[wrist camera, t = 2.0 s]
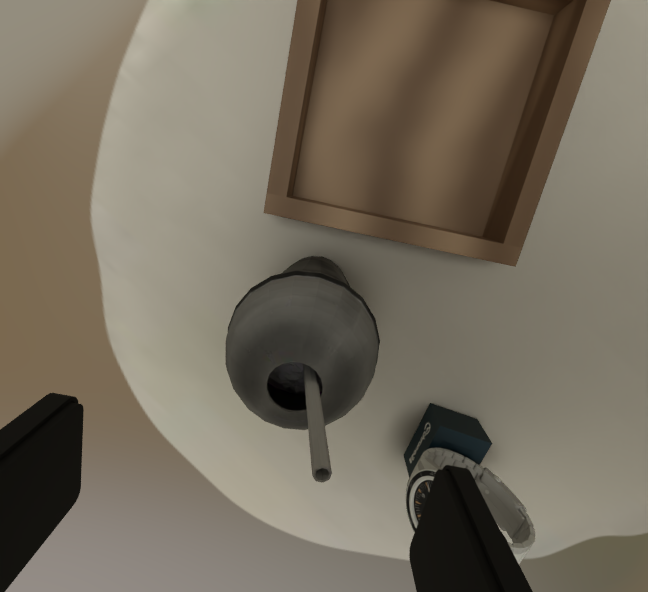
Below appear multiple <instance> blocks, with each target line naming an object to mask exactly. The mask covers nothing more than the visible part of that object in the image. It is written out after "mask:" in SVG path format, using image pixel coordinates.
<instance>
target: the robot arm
mask: <svg viewBox="0 0 648 592" xmlns="http://www.w3.org/2000/svg"><path fill="white" fill-rule="evenodd" d="M82 433H83V406H82V405H81V404H78V400H77V398H76V397H72V396H67V395H62V394H56V393H50V394H48V395H46V396H45V397H43V398H42V399H41V400H39V401H38V402H37V403H36V404H34V405H33V406H32V407H30V408H29V409H27V410H26V411H25V412H23V413H22V414H21V415H19V416H18V417H17V418H15V419H14V420H13V421H11V422H10V423H9V424H7V425H6V426H5V427H3V428H2V429H1V430H0V592H5V591H6V589H7V588H8V587H9V585H10V584H11V583H12V582H13V581H14V579H15V578H16V577H17V575H18V574H19V573H20V572H21V571H22V569H23V568H24V567H25V565H26V564H27V563H28V562H29V560H30V559H31V558H32V557H33V555H34V554H35V553H36V552H37V550H38V549H39V548H40V547H41V545H42V544H43V543H44V541H45V540H46V539H47V538H48V536H49V535H50V534H51V533H52V531H53V530H54V529H55V528H56V526H57V525H58V524H59V523H60V521H61V520H62V519H63V518H64V516H65V515H66V514H67V513H68V511H69V510H70V509H71V508H72V506H73V505H74V503H75V502H76V500H77V498H78V496H79V493H80V488H81V462H82V461H81V460H82V435H83V434H82ZM410 563H411V567H412V572H413V576H414V581H415V585H416V590H417V592H532V590H531V588H530V586H529V584H528V582H527V580H526V578H525V576H524V574H523V572H522V570H521V568H520V566H519V564H518V562H517V560H516V558H515V556H514V554H513V552H512V550H511V548H510V546H509V544H508V542H507V540H506V538H505V537H504V535H503V534H502V532H501V531H500V530H499V528H498V526H497V524H496V522H495V520H494V518H493V516H492V514H491V512H490V510H489V508H488V506H487V504H486V502H485V500H484V498H483V496H482V494H481V492H480V490H479V488H478V486H477V484H476V482H475V480H474V478H473V476H472V474H471V472H470V471H469V469H467V468H462V467H456V466H451V465H445V466H444V467H443V469H442V470H441V469H438V470H437V471H436V474H435V476H434V479H433V482H432V485H431V488H430V491H429V494H428V497H427V499H426V502H425V505H424V508H423V511H422V514H421V517H420V519H419V522H418V525H417V528H416V531H415V534H414V537H413V539H412V542H411V546H410Z"/></svg>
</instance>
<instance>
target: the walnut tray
mask: <svg viewBox="0 0 648 592" xmlns="http://www.w3.org/2000/svg"><path fill="white" fill-rule="evenodd" d="M610 1H611V0H298V1H297V7H296V13H295V20H294V26H293V32H292V38H291V45H290V51H289V57H288V63H287V70H286V76H285V82H284V88H283V95H282V101H281V107H280V113H279V120H278V126H277V132H276V139H275V145H274V151H273V157H272V164H271V170H270V176H269V182H268V189H267V195H266V201H265V207H264V213H267V214H272V215H276V216H281V217H286V218H290V219H295V220H300V221H304V222H309V223H314V224H318V225H323V226H328V227H332V228H337V229H342V230H346V231H351V232H356V233H360V234H365V235H370V236H375V237H379V238H384V239H389V240H393V241H398V242H403V243H407V244H412V245H417V246H421V247H426V248H431V249H435V250H440V251H445V252H449V253H454V254H459V255H463V256H468V257H473V258H478V259H482V260H487V261H492V262H496V263H501V264H506V265H510V266H515V267H516V264H517V261H518V258H519V256H520V253H521V250H522V247H523V244H524V242H525V239H526V236H527V233H528V230H529V228H530V225H531V222H532V219H533V216H534V214H535V211H536V208H537V205H538V202H539V200H540V197H541V194H542V191H543V188H544V186H545V183H546V180H547V177H548V174H549V172H550V169H551V166H552V163H553V161H554V158H555V155H556V152H557V149H558V147H559V144H560V141H561V138H562V135H563V133H564V130H565V127H566V124H567V121H568V119H569V116H570V113H571V110H572V107H573V105H574V102H575V99H576V96H577V93H578V91H579V88H580V85H581V82H582V79H583V77H584V74H585V71H586V68H587V65H588V63H589V60H590V57H591V54H592V51H593V49H594V46H595V43H596V40H597V38H598V35H599V32H600V29H601V26H602V24H603V21H604V18H605V15H606V12H607V10H608V7H609V4H610Z"/></svg>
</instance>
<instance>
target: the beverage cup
mask: <svg viewBox="0 0 648 592" xmlns="http://www.w3.org/2000/svg"><path fill="white" fill-rule="evenodd" d="M379 343H380V339H379V335H378V330H377V325H376V320H375V318H374V316H373V314H372V313H371V311H370V309H369V308H368V306H367V304H366V303H365V301H364V299H363V298H362V297H361V296H360V295H358V294H357V293H356V292H355V291H354V290H353V289H351V288H350V286H349V284H348V282H347V280H346V278H345V276H344V275H343V273H342V271H341V270H340V269H339V268H338V266H337V265H335V264H334V263H333V262H332V261H331V260H328V259H326V258H324V257H317V256H311V257H307V258H303V259H301V260H299V261H298V262H296V263H294V264H293V265H291V266H290V267H289V268H288V269H286V270H285V271H284V272H283V273H282V274H278V275H274V276H271V277H269V278H267V279H266V280H264V281H263V282H261V283H259V284H258V285H256V286H254V287H253V288H251V289H250V290H249V291H248V293H247V294H246V295H245V296H244V297H243V299H242V300H241V301H240V302H239V303H238V305H237V306H236V308H235V310H234V313H233V316H232V318H231V321H230V324H229V327H228V334H227V338H226V367H227V371H228V374H229V377H230V380H231V383H232V386H233V389H234V390H235V392H236V393H237V394H238V396H239V397H240V398H241V400H242V401H243V402H244V404H245V405H246V406H247V408H248V409H249V410H250V411H252V412H253V413H255V414H256V415H257V416H259V417H260V418H261V419H263V420H264V421H266V422H269V423H271V424H274V425H277V426H279V427H282V428H288V429H299V430H306V429H308V430H309V441H310V453H311V464H312V476H313V477H314V479H315V480H316V481H318V482H325V481H327V480H329V479H330V477H331V474H332V471H331V465H330V458H329V451H328V445H327V438H326V431H325V425H327V424H329V423H331V422H333V421H335V420H337V419H339V418H341V417H343V416H344V415H346V414H347V413H348V412H349V411H350V410H351V409H352V408H353V407H354V406H355V405H356V404H357V403H358V402H359V401H360V400H361V399H362V397H363V396H364V394H365V392H366V390H367V388H368V386H369V384H370V382H371V380H372V378H373V376H374V372H375V366H376V364H377V358H378V350H379Z"/></svg>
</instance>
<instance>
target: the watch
mask: <svg viewBox="0 0 648 592" xmlns="http://www.w3.org/2000/svg"><path fill="white" fill-rule="evenodd" d="M491 444H492V443H491V441H490V439H489V438H488V436H487V434H486V433H485V431H484V429H483V428H482V426H481V425H480V423H479V421H478V420H477V419H475V418H472V417H469V416H466V415H463V414H460V413H457V412H455V411H452V410H449V409H446V408H443V407H440V406H437V405H434V404H431V403H430V404H429V406H428V408H427V410H426V412H425V414H424V416H423V418H422V420H421V422H420V424H419V426H418V428H417V430H416V432H415V434H414V436H413V438H412V440H411V442H410V444H409V446H408V448H407V450H406V452H405V454H404V458H405V462H406V466H407V470H408V474H409V480H408V483H407V489H406V509H407V515H408V518H409V522H410V524H411V526H412V529H413V531H414V533H415V531H416V528H417V525H418V522H419V519H420V517H421V514H422V511H423V508H424V505H425V502H426V499H427V497H428V494H429V491H430V488H431V485H432V482H433V479H434V476H435V474H436V471H437V470H438V469H441V470H442V469H443V467H444V466H445V465H451V466H456V467H462V468H467V469H469V471H470V472H471V474H472V476H473V478H474V480H475V482H476V484H477V486H478V488H479V490H480V492H481V494H482V496H483V498H484V500H485V502H486V504H487V506H488V508H489V510H490V512H491V514H492V516H493V518H494V520H495V522H496V523H497V524H498V526H499V527H500V528H501V529H502V530H503V531H507V533H508V535H509V536H510V538H511V539H512V541H513V544H511V543H509V542H508V544H509V546H510V548H511V550H512V552H513V554H514V556H515V558H516V560H517V562H518V564H519V563H520V562H521V561H522V559H523V558H524V556H525V555H526V553H527V552H528V550H529V549H530V547H531V546H532V544H533V543H534V541H535V529H534V528H533V527H534V526H533V523H532V521H531V520H530V518H529V516H528V514H527V513H526V508H525V507H524V505H523V504H522V503H521V502H520V501H519V499H518V498H517V497H516V496H515V495H514V494H513V493H512V492H511V490H510V489H509V488H508V487H507V486H506V485H505V484H504V483H503V482H502V481H501V480H500V478H499V477H497V476H496V475H494V474H493V473H492V472H491V471H490V470H489V469H487V468H482V467H481V466H480V463H481V462H482V460H483V458H484V456H485V455H486V453H487V451H488V450H489V448H490V446H491Z"/></svg>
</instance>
